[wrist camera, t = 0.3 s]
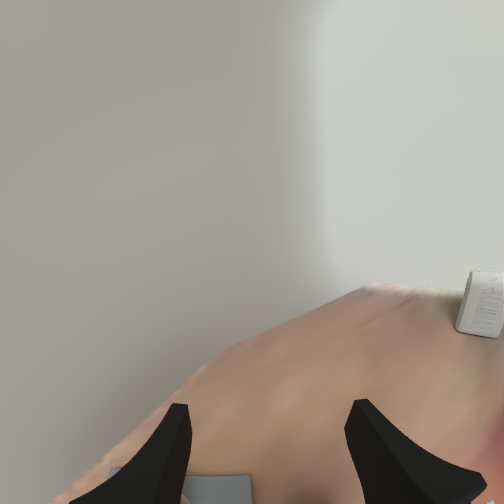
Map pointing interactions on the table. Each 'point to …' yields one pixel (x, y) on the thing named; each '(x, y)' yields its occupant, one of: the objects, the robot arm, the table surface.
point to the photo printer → (482, 304)
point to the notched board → (215, 489)
